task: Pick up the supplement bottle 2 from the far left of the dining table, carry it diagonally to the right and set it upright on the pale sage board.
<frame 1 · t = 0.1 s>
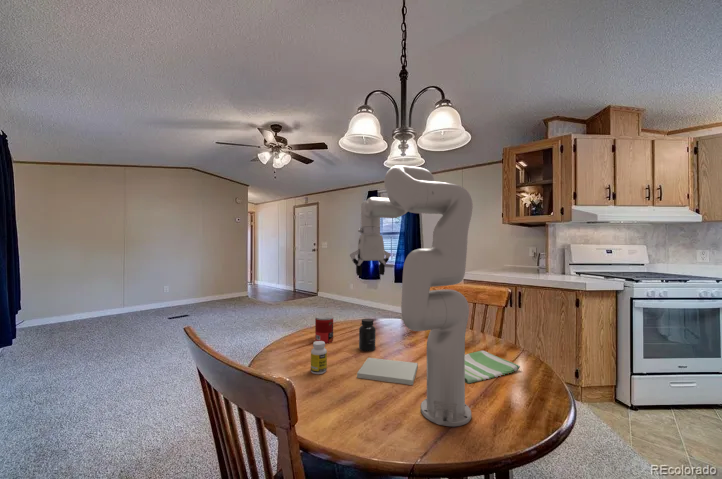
hand: (370, 275, 120), 31 cm above the table, tool pointing down, fingers open, 9 cm apart
dish towel: (476, 369, 107), on the table
supplement bottle 2: (318, 371, 104), on the table
canned food: (324, 341, 136), on the table
sage board: (388, 372, 103), on the table
supplement bottle: (367, 349, 126), on the table
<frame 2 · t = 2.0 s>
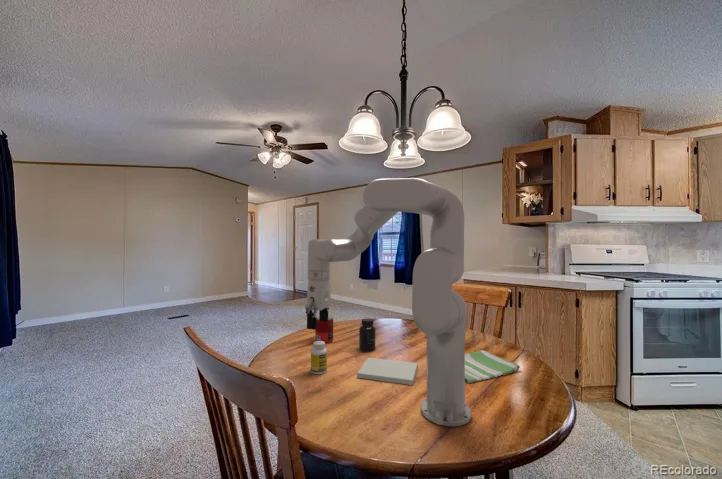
hand: (317, 325, 104), 16 cm above the table, tool pointing down, fingers open, 9 cm apart
nothing on the table moved.
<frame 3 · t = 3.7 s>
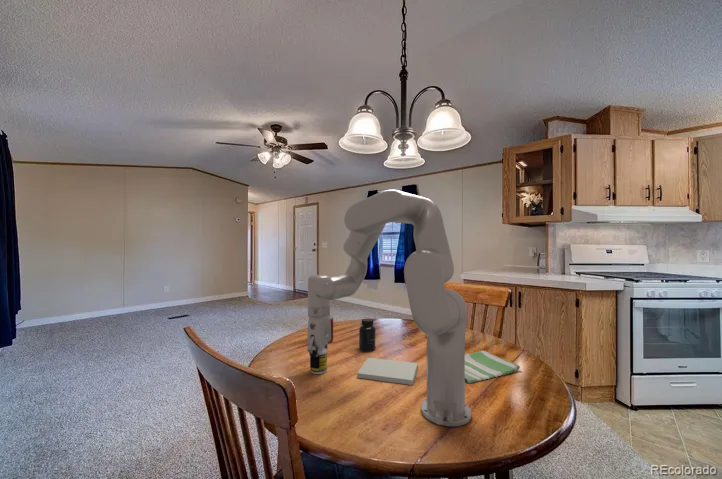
hand: (318, 363, 104), 3 cm above the table, tool pointing down, fingers closed on supplement bottle 2, 5 cm apart
supplement bottle 2: (318, 371, 104), on the table, touching gripper
everything else where it was.
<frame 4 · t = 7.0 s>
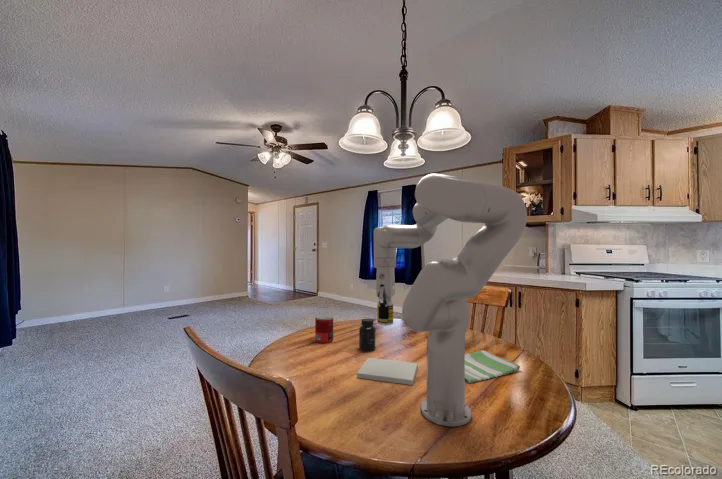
hand: (385, 316, 103), 19 cm above the table, tool pointing down, fingers closed on supplement bottle 2, 5 cm apart
supplement bottle 2: (385, 324, 103), point 16 cm above the table, touching gripper
everything else where it was.
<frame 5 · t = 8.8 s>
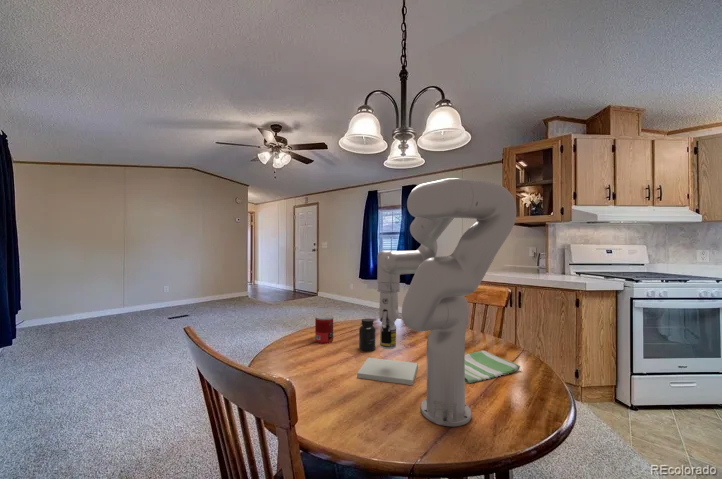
hand: (388, 339, 103), 11 cm above the table, tool pointing down, fingers closed on supplement bottle 2, 5 cm apart
supplement bottle 2: (388, 347, 103), point 8 cm above the table, touching gripper
everything else where it was.
when the fingers open (5 cm above the table, at t = 10.3 s): supplement bottle 2 drops 1 cm, resting on sage board.
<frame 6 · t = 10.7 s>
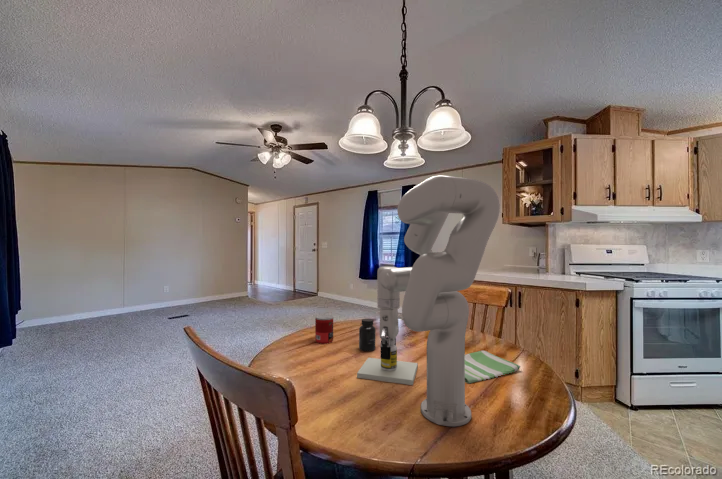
hand: (388, 353, 103), 6 cm above the table, tool pointing down, fingers open, 9 cm apart
supplement bottle 2: (388, 368, 103), point 1 cm above the table, touching sage board
everything else where it was.
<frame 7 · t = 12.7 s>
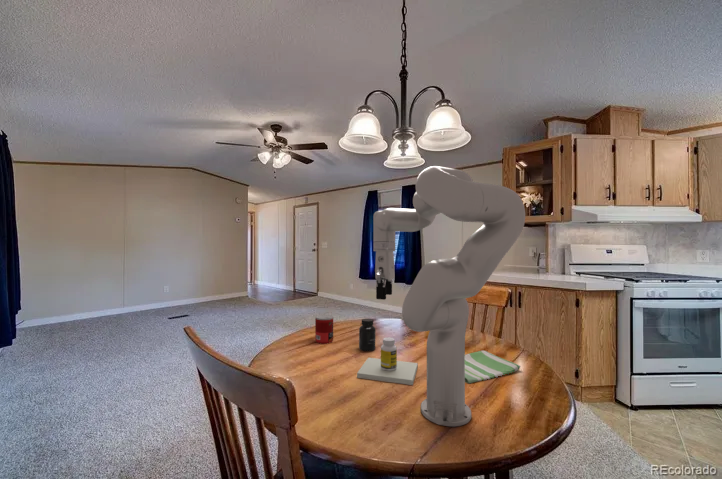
hand: (384, 296, 104), 25 cm above the table, tool pointing down, fingers open, 9 cm apart
nothing on the table moved.
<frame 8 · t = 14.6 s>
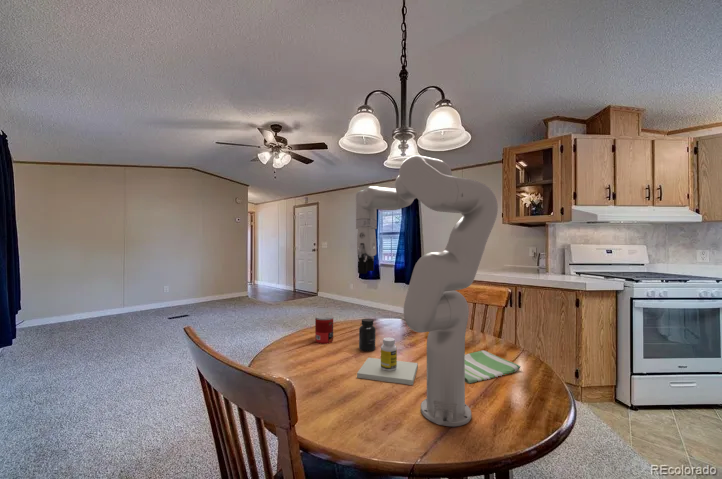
hand: (366, 272, 110), 33 cm above the table, tool pointing down, fingers open, 9 cm apart
nothing on the table moved.
at the end: supplement bottle 2 inside the target area on the sage board (0.2 cm from its centre), point 1.3 cm above the sage board's base; supplement bottle 2 tilted 0°; the gripper is holding nothing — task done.
